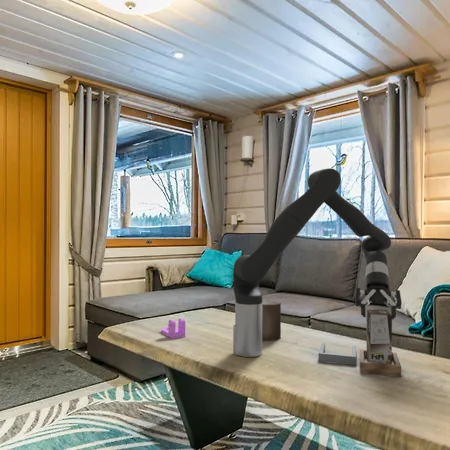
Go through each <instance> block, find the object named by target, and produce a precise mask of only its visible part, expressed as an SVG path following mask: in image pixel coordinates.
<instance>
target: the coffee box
mask: <svg viewBox="0 0 450 450" xmlns="http://www.w3.org/2000/svg"><path fill="white" fill-rule="evenodd" d="M392 337H393V319H392V315H391V312H389V311H388V310H387V309H366V350H367V361H368V362H375V363H384V364H392V352H393V350H392V349H393V347H392V346H393V342H392V341H393V338H392Z"/></svg>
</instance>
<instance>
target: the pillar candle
mask: <svg viewBox="0 0 450 450" xmlns="http://www.w3.org/2000/svg"><path fill="white" fill-rule="evenodd" d="M281 311H282V308H281V302H280V301H276V300H270V299H268V300H262V341H277V340H280V339H282V338H281V337H282V335H281V334H282V332H281V331H282V330H281V329H282V326H281V325H282V323H281V320H282V318H281V314H282V313H281Z"/></svg>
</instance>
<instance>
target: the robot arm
mask: <svg viewBox="0 0 450 450" xmlns="http://www.w3.org/2000/svg"><path fill="white" fill-rule="evenodd" d="M341 178H342V177H341V175H340V172H339V171H338V170H337V169H335V168H332V167H327V168H325V167H324V168H322V169H320V170H315V171H314V172H312V173H311V174H310V175H309V176H308V178H307V186H308V189H307V190H306V191H305V192H304V193H303V194H302V195H301V196H299V197H298V198H296V199H295V200H294V201H292V203H289V205H287V207H285V208H284V209H283V210H282V211H281V213H279V215H278V216H277V217H276V218H275V220H274V221H273V222H272V223H271V225H270V228H269V230H268V231H267V235H266V236H265V239H264V240H263V241H262V243H261V244H260V245H259V247H257V249H255V251H253V252H252V253H251V254H249V255H248V254H244V255H241V256H239V257H237V259H236V260H235V262H234V265H233V268H232V270H233V271H232V272H233V273H232V275H233V276H232V278H233V284H232V285H233V293H234V298H235V305H234V306H235V309H234V311H235V312H234V313H235V315H234V316H235V317H234V325H233V330H232V331H233V333H232V345H233V347H232V348H233V349H232V351H233V352H232V354H233V355H237V356H239V357H245V358H246V357H247V358H255V357H259V356H261V355H262V354H263V340H262V301H263V295H262V292H261V290H260V285H259V282H261V281H262V280H263V279H264V278H265V276H266V275H267V274H268V272H269V270H270V269H271V267H272V266H273V265H274V263H275V262H276V260H277V259H278V257H279V256H281V254H282V253H283V252H284V251H285V249H286V248H288V246H289V245H290V244H291V242H292V241H293V240H294V239H295V238H296V237H297V236H298V234H300V232H301V231H302V230H303V229H304V227H305V225H307V223H308V222H310V220H311V218H312V217H313V216H314V215H315V214H316V212H317V211H318V210H319V208H320V207H321V206H322V205H323V204H326V206H328V207H329V208H330V209H331V210H332V211H333V212H334V213H335V214H337V216H339V218H340V219H341V220H342V221H343V222H344V223H345V224H346V225H347V227H348V228H349V229H350V230H351V231H352V232H353V233H354V235H355V236H357V237H360V238H363V237H365V238H364V239H363V240H362V241H361V245H360V246H361V250H362V251H363V254H364V258H365V260H366V261H365V263H366V264H365V266H366V267H365V268H366V269H365V289H361V288H360V287H356V289H355V301H354V303H355V306H356V307H360V314H361V316H362V318H367V309H366V307H367V306H369V305H370V303H373V304H382V305H383V304H385V305H386V306H387V307H389V309H390V314H391V315H392V321H393V320H395V319H396V317H397V310H401V309H402V305H403V304H402V303H403V302H402V296H401V291H400V290H399V289H397V290H395V291H391V290H390V277H389V269H388V258H387V255H386V254H385V252H383V251H386V250H388V249H389V248H390V247H391V246H392V240H391V237H390V236H389V235H388V233H386V232H385V231H384V230H383V229H381V228H379V227H378V226H376V225H375V224H373V222H371V221H370V220H369V219H368V218H367V216H366V215H365V214H364V213H363V212H362V210H360V209H359V208H358V207H357V206H355V205H354V204H353V203H351V202H349V201H348V200H347V199H345V198H343V196H341V195H340V193H338V192H337V190H339V189H340V185H341V182H342V181H341V180H342V179H341ZM363 295H365V296H364V298H363V299H362V301H361V299H360V298H361V297H362V296H363ZM391 297H393V298H394V299H395V301H396V302H394V300H393V299H392V298H391Z"/></svg>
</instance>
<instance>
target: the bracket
mask: <svg viewBox="0 0 450 450" xmlns="http://www.w3.org/2000/svg"><path fill="white" fill-rule="evenodd" d="M167 325H168V327H163V328H161V333H162V334H163V335H165V336H166V337H168V338H170V339H178V338H180V339H181V338H186V320H185V318H183V317H182V318H178V322H177V328H176V321H175V319H168V324H167Z"/></svg>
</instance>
